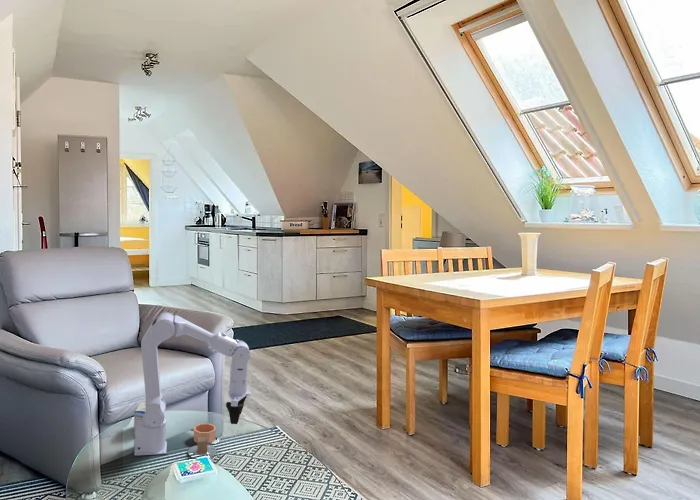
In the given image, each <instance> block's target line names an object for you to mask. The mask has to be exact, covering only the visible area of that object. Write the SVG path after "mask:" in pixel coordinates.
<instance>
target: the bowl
mask: <svg viewBox="0 0 700 500" xmlns="http://www.w3.org/2000/svg"><path fill="white" fill-rule="evenodd" d="M216 432H217V431H216V425H214V424H211V423H199V424H197V425H194V426H193V441H194V442H195V443H196V444H197V442H198V437H207V440H208V444H211V443H213V442H214V441H215V440H216Z"/></svg>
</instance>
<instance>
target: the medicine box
mask: <svg viewBox="0 0 700 500" xmlns="http://www.w3.org/2000/svg"><path fill="white" fill-rule="evenodd" d="M145 404H146V401H141V402H140V403H139V404H138V406H137V408H136V409H135V410H134V413H133V414H134V417H133V435H134V436H135V431H136V423H141V422H143V416H144V414H145V410H146V407H145Z"/></svg>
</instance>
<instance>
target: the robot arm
mask: <svg viewBox="0 0 700 500" xmlns="http://www.w3.org/2000/svg"><path fill="white" fill-rule="evenodd" d="M174 335H175V337H176V338H177V337H181V336H183V335H187V336H189V337H191V338H194V339H197V340H199V341H202V342H204V343H207V344H208V346H209V349H210V350H213V351H215V352H217V353H220V354H221V355H223V356H225V357H228V358H231V364H230V373H229V385H228V386H229V387H228V392H227V393H228V397H229V398H230V401H226V404H225V407H226V408H227V412H228V414H229V421H230V424H231V425H238V423H239V420H240V416H241V414H242V412H243V408H244V407H245V402H246V399H247V397H248V396H250V395H251V391H249V390H248V379H249V360H250V359H251V352H250V348H249V345H248V344H247V343H246V342H245V341H244V340H239V339H237V338H236V339H235V338H232V337H230V336H228V335H227V333H226V332H224V331H222V332H215V333H212V332H210V331H208V330H206V329H205V328H203V327H200V326H198V325H196V324H194V323H193V322H191V321H189V320H187V319H186V318H184V317H181V316H180V315H178V314H176V315H174V314H173V313H171V312H168V311H167V312H162V313H160V314H159V315H158V316H156V317H155V318H154V319H153V320H152V322H151V324H150V326H149V327H148V328H147V330H146V332H145V334H144V335H143V337H142V339H141V343H140V347H141V359H142V370H143V382H144V392H145V393H144V394H145V402H146V404H145V407H146V410H145V414H144V416H143V422H141V423H136V431H135V435H134V441H133V447H134V456H149V455H150V456H152V455H153V456H154V455H165V454H167V449H168V448H167V445H168V441H167V419H166V417H165V414H166V413H165V412H166V410H167V409H166V408H167V403H166V400H164V398H163V393H162V387H161V375H160V364H159V352H158V346H159V345H161V344H162V342H164V341H167V340H169V339H171V338H172V337H173V336H174Z"/></svg>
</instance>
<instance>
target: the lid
mask: <svg viewBox="0 0 700 500" xmlns="http://www.w3.org/2000/svg"><path fill="white" fill-rule="evenodd" d="M187 453H193V454H195V455H206V456H208V455H209V456H213V455H215V454H217V448H216V447H214V446H213V445H210V444H209V443H208V440H207V437H198V442H197V443H196V444H195V445H193V446H191V447H189V448H188V449H187ZM215 456H216V455H215ZM213 457H214V456H213Z"/></svg>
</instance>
